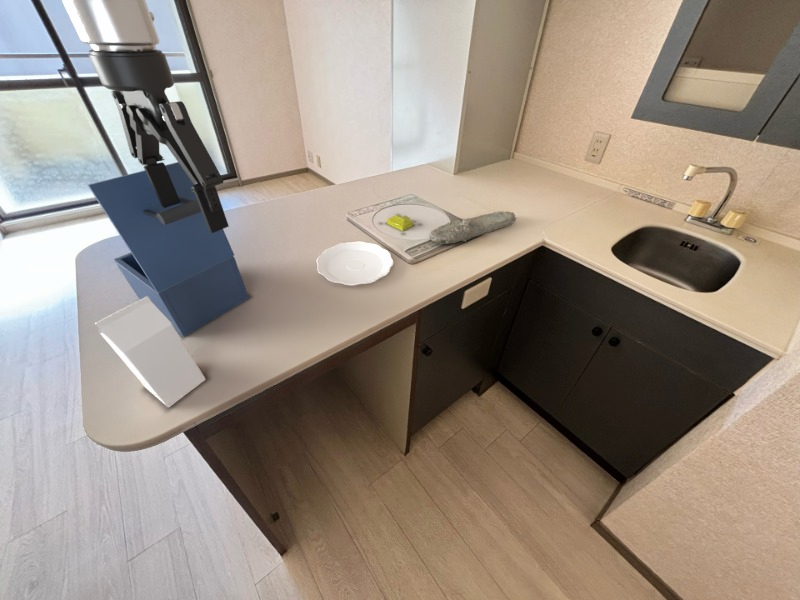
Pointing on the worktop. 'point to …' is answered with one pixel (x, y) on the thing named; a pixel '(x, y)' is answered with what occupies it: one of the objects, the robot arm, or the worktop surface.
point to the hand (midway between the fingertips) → (194, 216)
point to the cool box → (190, 293)
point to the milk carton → (152, 350)
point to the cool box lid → (162, 227)
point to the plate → (354, 263)
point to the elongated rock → (471, 227)
